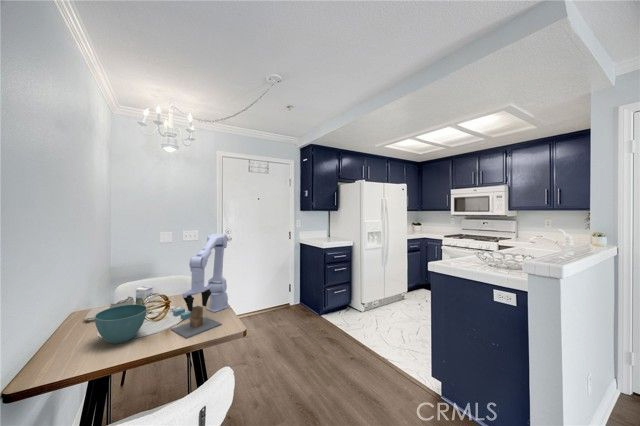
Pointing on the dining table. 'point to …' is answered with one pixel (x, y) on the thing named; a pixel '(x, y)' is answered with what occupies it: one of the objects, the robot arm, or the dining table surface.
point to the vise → (181, 313)
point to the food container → (123, 302)
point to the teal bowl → (120, 322)
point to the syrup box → (143, 293)
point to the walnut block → (196, 317)
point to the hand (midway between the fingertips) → (197, 308)
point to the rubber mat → (190, 331)
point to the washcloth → (93, 314)
